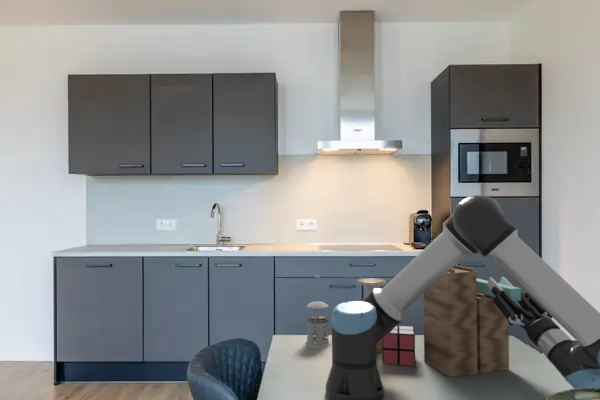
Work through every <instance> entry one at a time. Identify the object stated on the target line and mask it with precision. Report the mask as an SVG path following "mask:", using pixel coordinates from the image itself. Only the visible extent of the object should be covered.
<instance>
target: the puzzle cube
mask: <svg viewBox="0 0 600 400" xmlns="http://www.w3.org/2000/svg"><path fill="white" fill-rule="evenodd" d="M381 354H382V355H381V357H382V364H383V365H385V366H386V365H387V366H388V365H389V366H391V365H392V366H402V367H415V366H416V333H415V328H414V326H407V325H405V326H403V325H397V326H396V327H395V328H394V329H393V330H392V331H391V332H390V333H389V334H388V335H387V336H385V337H384V338H382V353H381Z"/></svg>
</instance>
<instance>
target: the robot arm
mask: <svg viewBox="0 0 600 400" xmlns="http://www.w3.org/2000/svg"><path fill="white" fill-rule="evenodd" d="M507 218H508V217H507V213H506V209H504V207H503V206H502V204H501V203H500V202H499V201H498V200H496V199H495V198H493V197H491V196H488V195H487V196H486V195H479V194H478V195H477V194H474V195H470V196H467V197H466V198H463V199H462V200H460V201H459V202H458V204H457V205H456V206H455V207H454V209H453V213H452V214H451V215H449V217H448V218H447V219H446V220H445V221H444V222H443V223H442V232H441V233H439V235H437V236H436V237H435V238H434V239H433V240H432V241H431V242H430V243H429V244H428V245H427V246H426V247H425V248H424V249H422V250H421V251H420V252H419V253H418V254H417V255H416V256H415V257H414V258H413V259H412V260H411V261H410V262H409V263H408V264H407V265H405V267H403V268H402V269H401V271H399V272H398V273H397V274H396V275H395V276H394V277H393V278H392V279H391V280H389V282H388V283H386V284H385V286H384V287H383V288H382V287H381V288H380V287H379V288H375V289H374V290H373V291H371V292H370V293H369V294H368V295H367V296H366V295H365V296H366V297H365V296H364V297H363V298H362V300H350V301H347V302H340V303H338V304H337V305H335V307H333V309H332V312H331V319H330V320H331V321H330V322H331V358H332V359H331V360H332V361H331V368H330V370H329V374H328V377H327V381H326V383H325V396H326V398H327V399H328V400H383V399H384V391H385V390H384V384H383V382H382V379H381V378H382V377H381V376H380V372H379V369H378V367H377V355H378V354H377V351H376V344H377V343H378V342H379V341H380V340H381V339H382V338H384V337H385V336H387V335H388V334H389V333H390V332H391V331H392V330H393V329H394V328H395V327H396V326H399V324H400V323H402V322H403V320H404V319H405V311H406V310H407V309H409V308H410V307H411V306H412V305H413V304H414V303H415V302H416V301H417V300H418V299H420V298H421V297H423V296H424V293H425V292H426V291H427V290H428V289H429V288H431V287H432V286H433V285H434V284H435V283H436V282H437V281H438V280H439V279H440V278H442V277H443V276H444V275H445V274H446V273H447V272H448V271H449V270H450V269H452V268H453V267H454V266H455V265H458V263H459V262H461V261H462V259H464V258H465V257H466V256H467V255H469V256H471V255H474V256H475V255H478V253H479V254H480V255H482V257H483V258H485V259H490V260H493V261H494V262H495V263H496V264H497V265H498V266H499V267H501V269H502V270H503V271H504V272H505V273H506V274H508V276H510V277H511V279H513V280H514V281H515V282H516V283H517V285H519V286H520V288H521V289H522V290H524V291H525V292H523V291H521V301H517V303H518V304H517V303H516V301H512V300H511V299H510V298H509V297H508V296H506V295H505V294H504V293H505V291H504V290H503V289H502V288H501V287H500V286H499V284H498V282H497V281H496V280H495V279H494V278H493V277H488V280H487V281H488V283H487V285H488V287H489V288H490V289H491V291H492V293H493V294H494V295H495V299H494V301H493V302H494V303H495V305H496V306H497V307H498V308H499V310H500V311H501V312H502V313H503V315H504V316H505V317H506V318H507V320H508V326H514V324H515V325H519V326H520V327H521V328H522V329H524V331H525V332H526V335H527V338H529V340H530V342H532V343H533V345H535V346H536V347H537V349H538V350H539V351H540V352H541V353H542V354H543V355H544V357H546V359H547V360H548V361H549V362H550V364H552V366H553V367H554V368H555V369H556V370H557V372H559V373H560V375H561V376H562V377H563V378H564V379H565V380H564V381H565V382H567V383H568V384H569V385H570V386H571V388H573V389H574V390H575V389H577V388H590V387H591V388H600V312H599V311H598V310H597V309H596V308H595V307H594V306H593V305H592V304H591V303H589V301H587V300H586V298H584V297H583V296H582V295H581V294H580V293H579V291H577V290H576V289H574V287H572V285H571V284H569V282H567V280H565V279H564V278H563V277H562V276H561V275H560V274H559V273H558V272H557V271H555V270H554V268H552V267H551V266H550V265H549V264H548V263H547V262H546V261H545V260H544V259H543V258H542V257H540V256H539V254H537V253H536V252H535V251H534V250H533V249H532V248H531V247H530V246H528V245H527V244H526V242H524V241H523V240H522V238H520V237H519V236H518V232H519V231H518V229H517V228H516V227H515V226H514V225H513V224H512V223H511V222H510V221H509V220H508V219H507ZM499 283H500V284H504V285H509V286H513V287H516V286H515V285H512V283H511V282H510V281H509V280H508V279H507V278H506V277H505V276H501V278H500V281H499ZM554 320H555V321H556V322H557V323H558V324H559V325H560V326H561V327H562V328H563V329H564V330H565V331H566V332H568V334H570V336H571V337H572V338H574V339H575V340H576V341H577V343H575V342H574V341H573V339H572V338H570V336H569V335H567V333H566V332H565V331H564V330H562V329H561V327H560V326H558V325H557V324H556V322H555V321H554Z"/></svg>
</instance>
